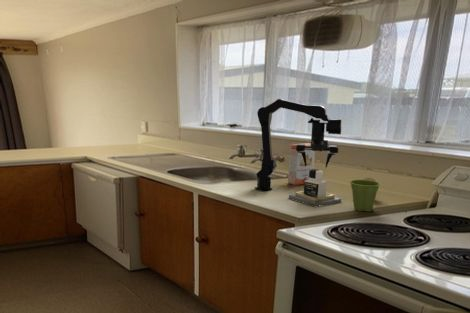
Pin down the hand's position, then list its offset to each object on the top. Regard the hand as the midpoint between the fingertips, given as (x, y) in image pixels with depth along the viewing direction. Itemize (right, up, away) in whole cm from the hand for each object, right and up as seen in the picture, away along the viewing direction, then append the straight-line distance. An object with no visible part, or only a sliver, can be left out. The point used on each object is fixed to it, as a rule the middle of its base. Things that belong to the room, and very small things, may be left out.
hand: (315, 166), depth 180 cm
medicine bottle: (-2, -13, -9) cm, 16 cm away
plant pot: (+15, -17, -21) cm, 31 cm away
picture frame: (-2, -14, -9) cm, 17 cm away
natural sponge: (+22, -15, -4) cm, 27 cm away
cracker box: (-3, -10, +26) cm, 28 cm away
